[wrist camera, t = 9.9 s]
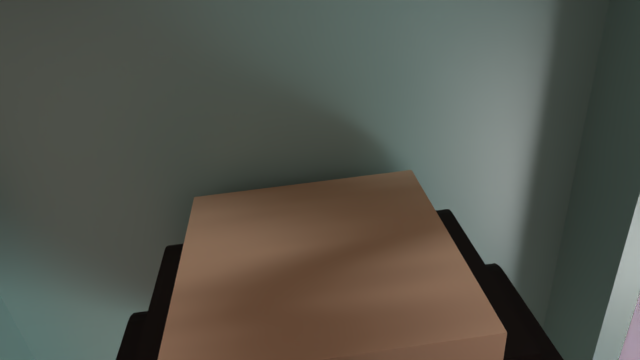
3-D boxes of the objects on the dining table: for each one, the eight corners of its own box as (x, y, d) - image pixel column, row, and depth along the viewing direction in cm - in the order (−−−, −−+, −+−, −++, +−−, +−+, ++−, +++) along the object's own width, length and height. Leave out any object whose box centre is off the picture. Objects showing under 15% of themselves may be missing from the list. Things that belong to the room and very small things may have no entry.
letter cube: (411, 169, 10) (512, 342, 6) (409, 325, 12) (483, 529, 8) (194, 196, 10) (149, 395, 6) (231, 351, 12) (218, 572, 8)
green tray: (661, -153, 9) (788, -171, 7) (542, 391, 16) (585, 463, 14) (-226, -73, 8) (-400, -66, 6) (79, 469, 15) (51, 558, 13)
